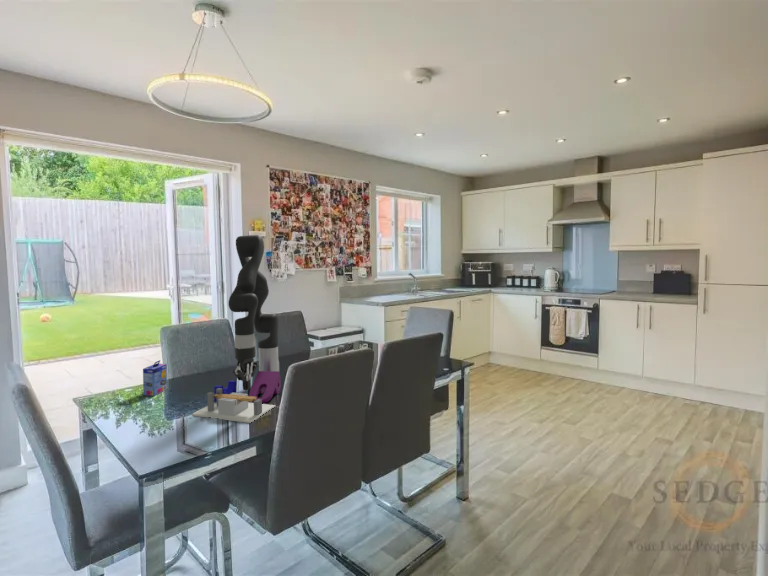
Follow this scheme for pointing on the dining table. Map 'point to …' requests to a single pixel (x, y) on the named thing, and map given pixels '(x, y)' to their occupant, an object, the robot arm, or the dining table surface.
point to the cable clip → (227, 388)
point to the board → (241, 415)
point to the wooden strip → (235, 397)
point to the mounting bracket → (266, 385)
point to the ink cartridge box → (154, 379)
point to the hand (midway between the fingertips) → (246, 389)
